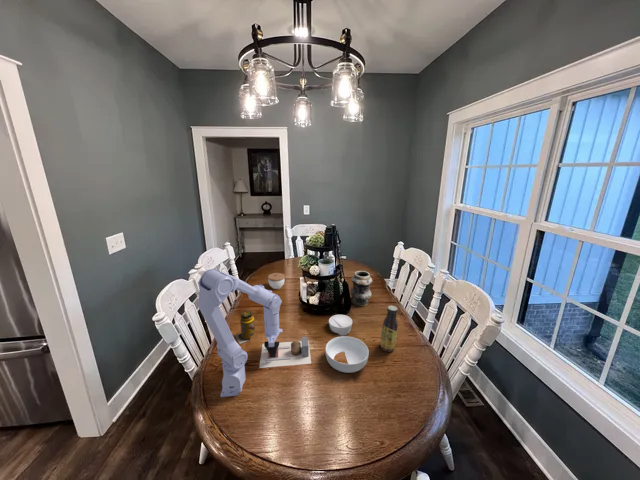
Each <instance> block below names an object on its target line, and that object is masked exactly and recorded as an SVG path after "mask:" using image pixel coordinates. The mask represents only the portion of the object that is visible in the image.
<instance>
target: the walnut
mask: <svg viewBox="0 0 640 480" xmlns="http://www.w3.org/2000/svg"><path fill="white" fill-rule="evenodd" d="M299 341H300V340H295V341H291V342H292V343H291V354H292V355H294V356H298V355H300V353H301V343H300V342H299Z"/></svg>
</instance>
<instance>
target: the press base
mask: <svg viewBox="0 0 640 480" xmlns="http://www.w3.org/2000/svg"><path fill="white" fill-rule="evenodd" d="M308 339H309V338H308V336H301V340H298V341H299V342H300V343H301V353H300V355H298V356H294V355H292V354H291V343H292V342H293V341H285V342H283V341H282V342H279V346H278V357H272V358H268V350H267V349H266V348H265V346H264V343H262V344H261V353H260V358H259V359H260V360H259V366H258V367H259V369H264V368H265V369H266V368H275V367H276V368H277V367H286V366H287V367H288V366H298V365H300V366H301V365H310V364H312V360H311V359H312V356H311V351H310V341H309V340H308Z"/></svg>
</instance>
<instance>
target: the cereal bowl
mask: <svg viewBox="0 0 640 480" xmlns="http://www.w3.org/2000/svg"><path fill="white" fill-rule="evenodd" d="M324 349H325V357H326V361H327V362H328V364H329V365H330V366H331V367H332V368H333V369H334V370H336V371H338V372H342V373H345V374H346V373H348V374H349V373H350V374H351V373H352V374H353V373H356V372H359V371H361V370H362V369H363V368H364V367H365V366H366V365H367V363H368V359H369V353H370V352H369V348H368V346H367V345H366V343H364V342H363V341H362V340H360V339H359V338H356V337H353V336H347V335H344V336H337V337H334V338H332V339H330V340H329V341H328V342H327V343H326V345H325V348H324ZM340 353H344V355H345V358H346V361H347V362H346V363H343V362H339V361H337V360H335V356H336V355H338V354H340Z"/></svg>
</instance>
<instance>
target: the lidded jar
mask: <svg viewBox="0 0 640 480" xmlns="http://www.w3.org/2000/svg"><path fill="white" fill-rule="evenodd" d="M285 279H286V276H285V273H281V272H273V273H270V274H268V276H267V281H268V284H269V286H270V287H271V288H272V289H273V290H279V289H281V288H282V287H283V286H284V284H285Z"/></svg>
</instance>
